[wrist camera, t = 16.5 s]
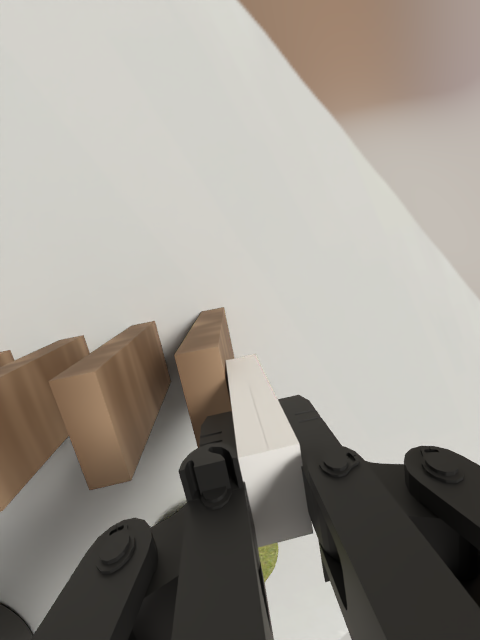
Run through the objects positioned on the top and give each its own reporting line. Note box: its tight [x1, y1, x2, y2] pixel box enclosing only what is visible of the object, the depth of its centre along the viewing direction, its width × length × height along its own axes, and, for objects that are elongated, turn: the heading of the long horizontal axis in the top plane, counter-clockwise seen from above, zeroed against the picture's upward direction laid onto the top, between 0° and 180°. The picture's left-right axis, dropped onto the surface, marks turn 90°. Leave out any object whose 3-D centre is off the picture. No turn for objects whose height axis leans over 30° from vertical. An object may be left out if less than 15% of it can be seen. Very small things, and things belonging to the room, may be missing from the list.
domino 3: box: [174, 307, 234, 448], centre depth 16 cm, size 2×5×10 cm, turn 11°
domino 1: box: [0, 335, 90, 511], centre depth 15 cm, size 2×5×10 cm, turn 11°
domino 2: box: [48, 321, 171, 490], centre depth 15 cm, size 2×5×10 cm, turn 11°
